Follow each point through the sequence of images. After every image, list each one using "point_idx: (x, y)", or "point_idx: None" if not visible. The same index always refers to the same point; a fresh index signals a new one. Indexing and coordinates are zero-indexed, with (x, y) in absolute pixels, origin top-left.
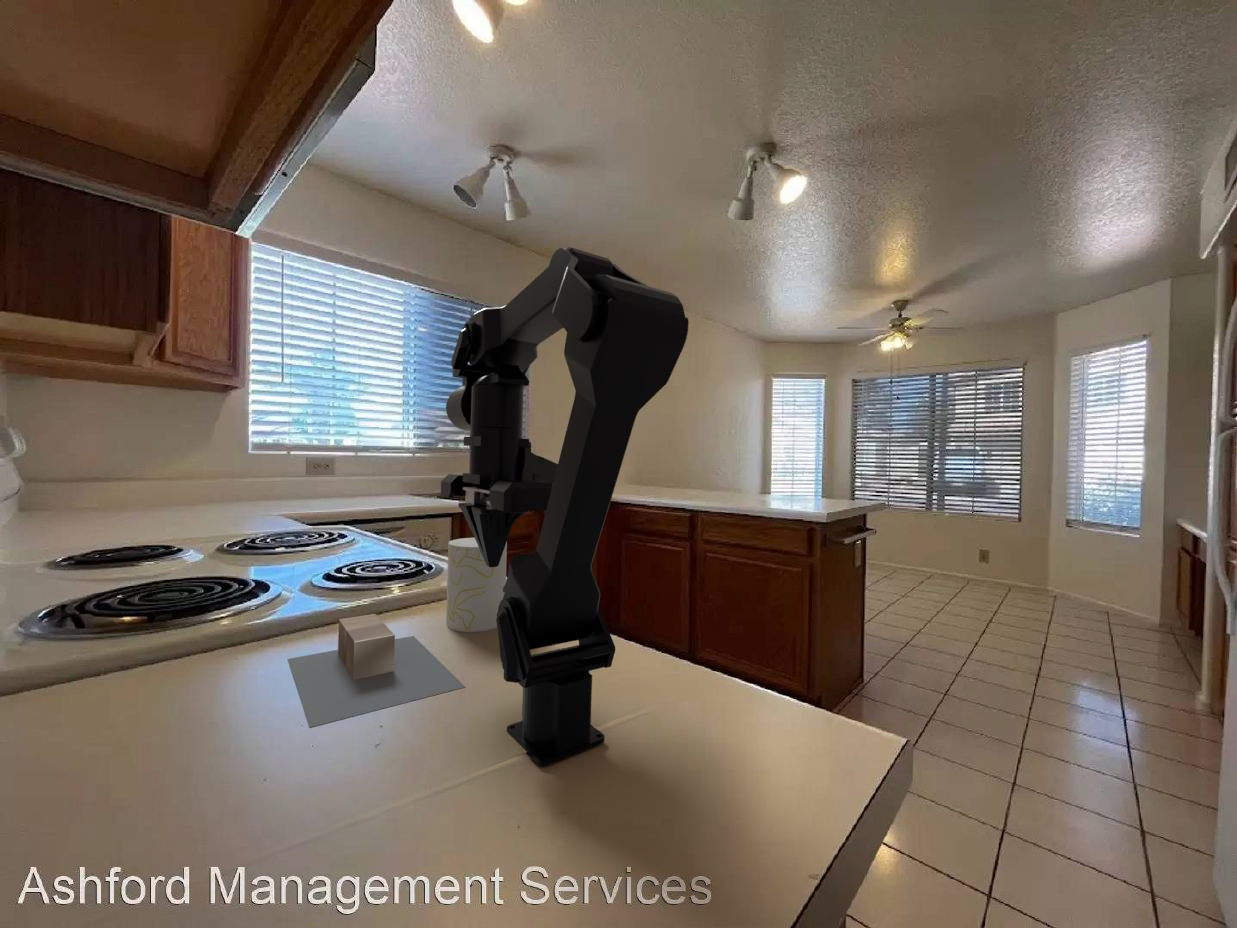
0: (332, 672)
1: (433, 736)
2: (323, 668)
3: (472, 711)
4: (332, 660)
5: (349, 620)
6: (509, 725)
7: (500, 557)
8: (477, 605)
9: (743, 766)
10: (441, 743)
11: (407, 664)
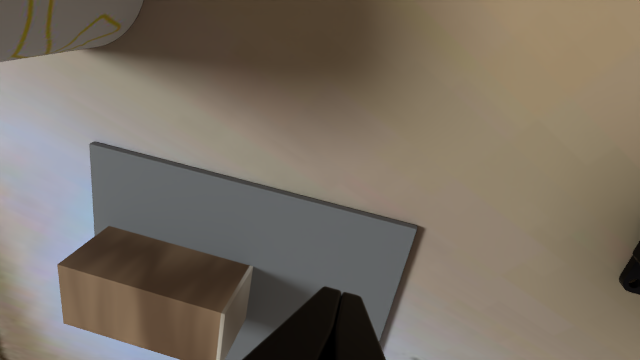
0: None
1: (508, 340)
2: None
3: (497, 264)
4: None
5: (82, 316)
6: (624, 282)
7: (373, 331)
8: (81, 7)
9: None
10: (537, 345)
11: (239, 236)
